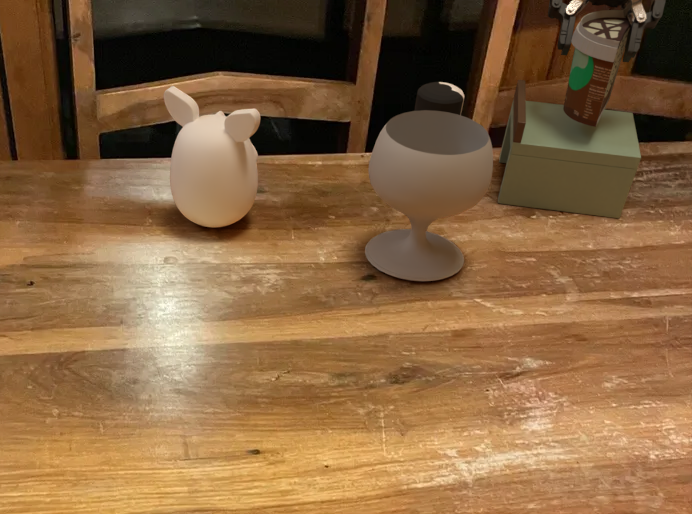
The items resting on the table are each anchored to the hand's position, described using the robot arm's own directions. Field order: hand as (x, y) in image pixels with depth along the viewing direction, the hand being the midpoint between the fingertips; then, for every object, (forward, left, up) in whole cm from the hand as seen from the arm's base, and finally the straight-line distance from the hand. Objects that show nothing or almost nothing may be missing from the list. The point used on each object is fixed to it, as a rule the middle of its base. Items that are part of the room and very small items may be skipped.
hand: (596, 55), depth 116 cm
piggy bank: (+44, +21, -17) cm, 51 cm away
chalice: (+18, +24, -17) cm, 34 cm away
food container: (0, -1, -7) cm, 7 cm away
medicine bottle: (+18, +3, -17) cm, 25 cm away
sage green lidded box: (0, 0, -17) cm, 17 cm away
